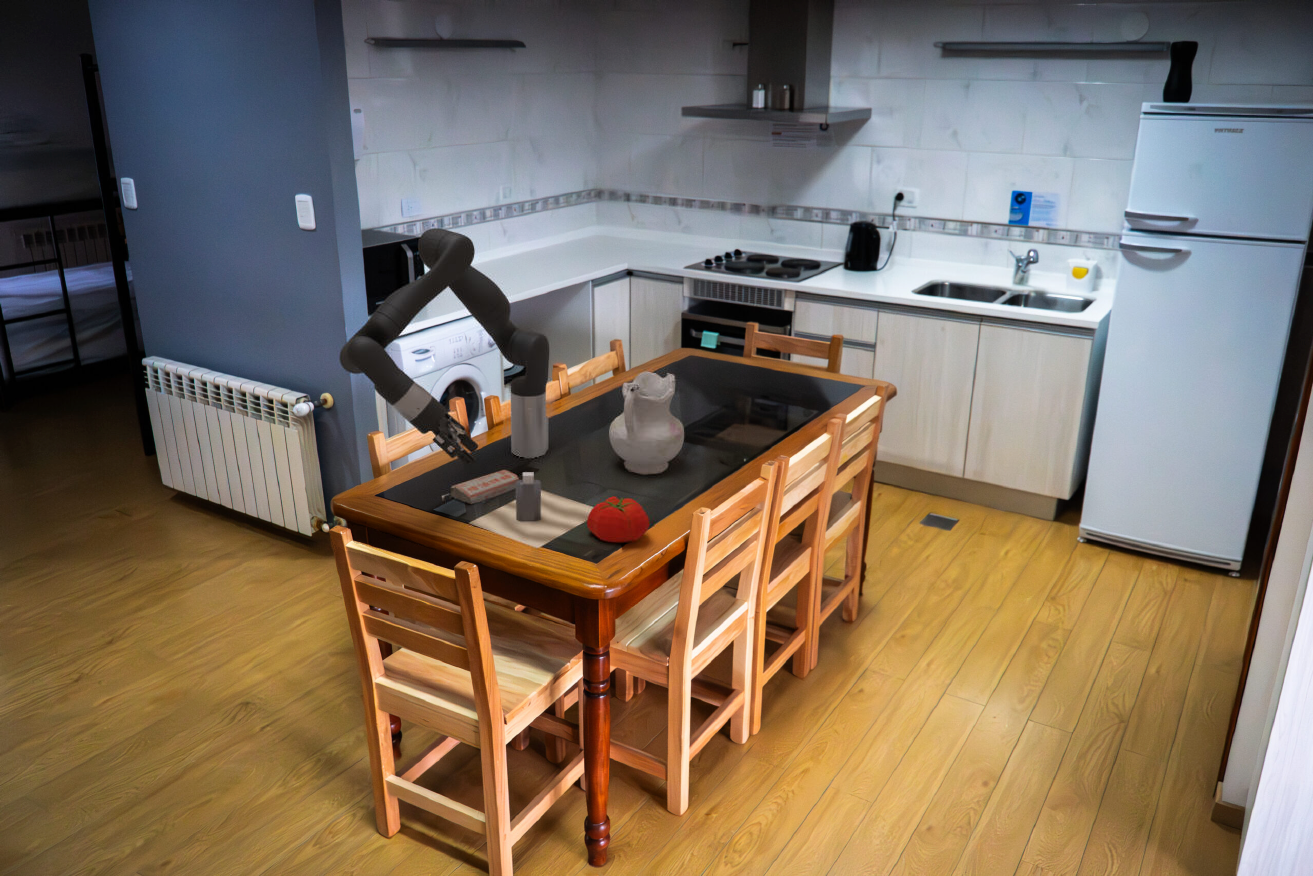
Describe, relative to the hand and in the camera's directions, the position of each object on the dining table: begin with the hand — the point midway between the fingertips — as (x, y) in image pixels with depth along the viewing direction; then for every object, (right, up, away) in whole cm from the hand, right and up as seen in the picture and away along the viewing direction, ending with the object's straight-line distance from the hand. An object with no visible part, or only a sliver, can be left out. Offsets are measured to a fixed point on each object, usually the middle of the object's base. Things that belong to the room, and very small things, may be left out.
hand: (474, 456), depth 222 cm
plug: (+11, -14, +7) cm, 19 cm away
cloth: (+13, -15, +8) cm, 22 cm away
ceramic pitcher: (+37, -4, +41) cm, 55 cm away
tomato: (+32, -18, +3) cm, 37 cm away
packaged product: (-1, -11, +20) cm, 23 cm away
